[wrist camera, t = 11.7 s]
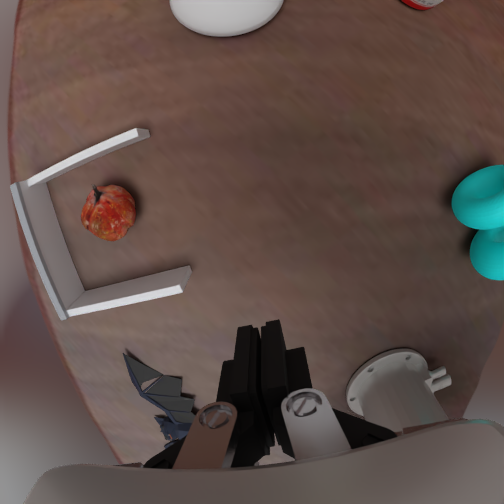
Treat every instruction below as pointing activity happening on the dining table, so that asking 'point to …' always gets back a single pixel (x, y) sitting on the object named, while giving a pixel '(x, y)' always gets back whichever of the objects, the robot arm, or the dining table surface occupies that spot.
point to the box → (56, 252)
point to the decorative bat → (164, 399)
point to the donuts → (483, 218)
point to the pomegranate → (108, 212)
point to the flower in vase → (224, 15)
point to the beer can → (422, 3)
